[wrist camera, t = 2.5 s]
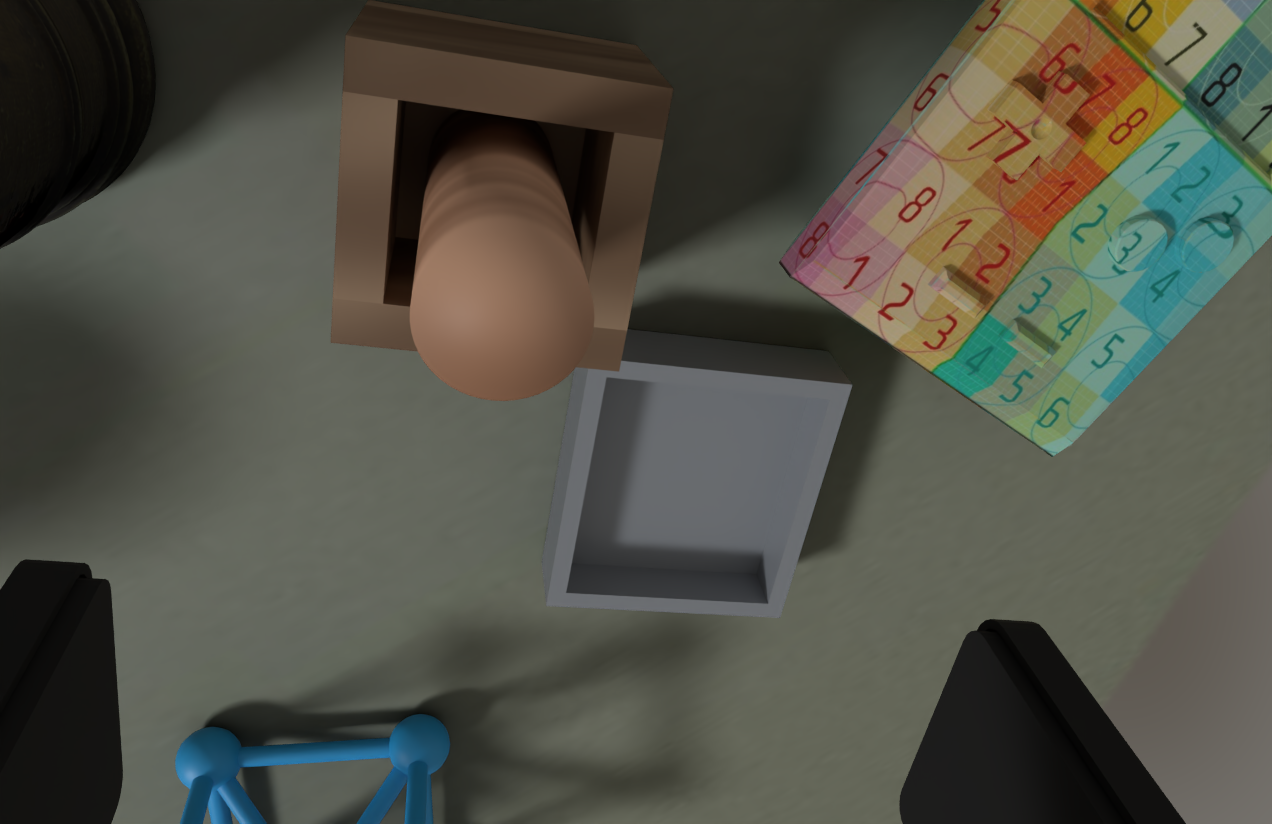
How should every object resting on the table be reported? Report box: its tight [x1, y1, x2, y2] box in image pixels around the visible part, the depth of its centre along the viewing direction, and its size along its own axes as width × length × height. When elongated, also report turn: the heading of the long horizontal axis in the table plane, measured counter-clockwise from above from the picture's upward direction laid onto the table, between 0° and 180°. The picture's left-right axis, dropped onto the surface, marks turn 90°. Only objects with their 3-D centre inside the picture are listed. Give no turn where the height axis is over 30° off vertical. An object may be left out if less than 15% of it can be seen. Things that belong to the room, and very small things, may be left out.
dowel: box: [410, 109, 595, 401], centre depth 24 cm, size 4×4×11 cm
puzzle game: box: [779, 0, 1272, 457], centre depth 30 cm, size 12×5×20 cm
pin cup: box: [331, 0, 674, 372], centre depth 27 cm, size 7×7×6 cm
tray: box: [542, 329, 852, 618], centre depth 35 cm, size 10×8×2 cm
